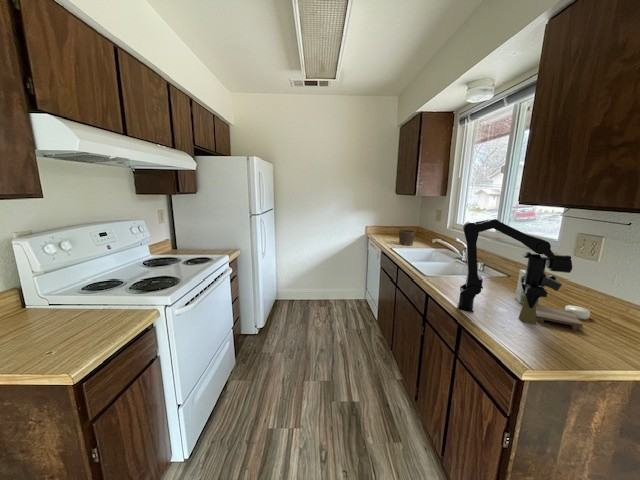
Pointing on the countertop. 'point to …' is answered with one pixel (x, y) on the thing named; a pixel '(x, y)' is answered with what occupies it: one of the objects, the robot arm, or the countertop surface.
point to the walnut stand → (557, 316)
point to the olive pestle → (528, 312)
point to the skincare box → (519, 290)
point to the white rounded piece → (578, 311)
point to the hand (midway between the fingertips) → (529, 305)
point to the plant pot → (406, 237)
